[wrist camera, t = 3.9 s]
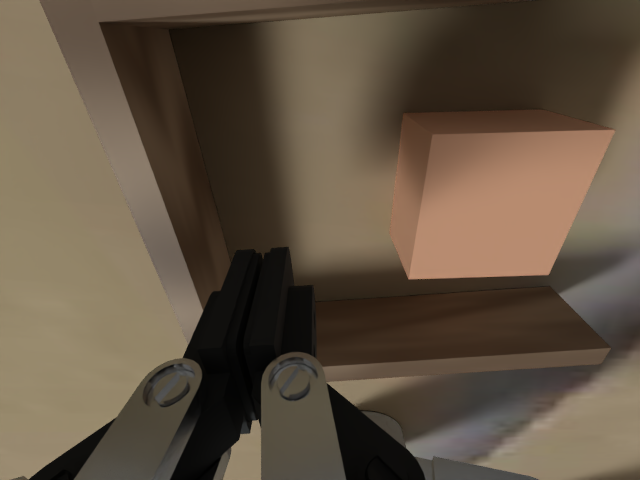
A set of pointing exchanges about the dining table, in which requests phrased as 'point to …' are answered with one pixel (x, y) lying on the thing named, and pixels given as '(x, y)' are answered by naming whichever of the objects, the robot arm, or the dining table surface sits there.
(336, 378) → the walnut cubby
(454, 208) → the terracotta block
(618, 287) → the dining table surface
